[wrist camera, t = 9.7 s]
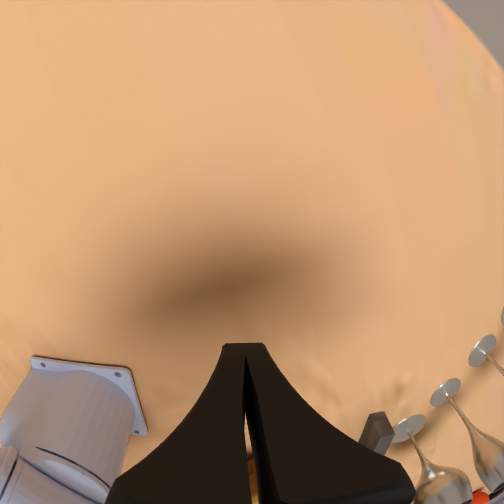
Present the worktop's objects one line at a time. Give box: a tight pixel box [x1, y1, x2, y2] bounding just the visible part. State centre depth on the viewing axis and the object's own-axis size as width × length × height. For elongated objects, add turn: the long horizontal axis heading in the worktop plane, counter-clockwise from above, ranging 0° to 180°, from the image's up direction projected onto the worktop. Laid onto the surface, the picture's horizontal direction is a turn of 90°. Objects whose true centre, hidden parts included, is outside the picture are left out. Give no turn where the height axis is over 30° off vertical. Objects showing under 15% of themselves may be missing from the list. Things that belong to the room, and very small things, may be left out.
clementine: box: [470, 491, 490, 504], centre depth 39 cm, size 8×7×7 cm
